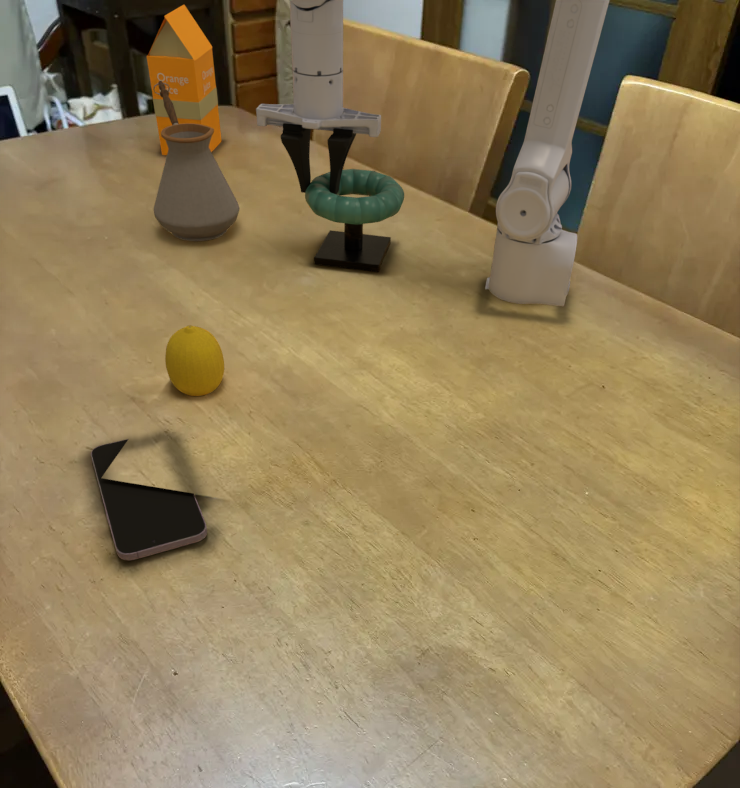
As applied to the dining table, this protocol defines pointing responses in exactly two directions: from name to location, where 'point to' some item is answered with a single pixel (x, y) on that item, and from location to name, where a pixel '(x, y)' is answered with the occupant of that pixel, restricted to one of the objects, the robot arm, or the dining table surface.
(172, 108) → the coffee pot
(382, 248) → the peg stand
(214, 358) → the lemon
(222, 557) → the dining table surface
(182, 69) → the orange juice
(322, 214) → the hoop
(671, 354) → the dining table surface
